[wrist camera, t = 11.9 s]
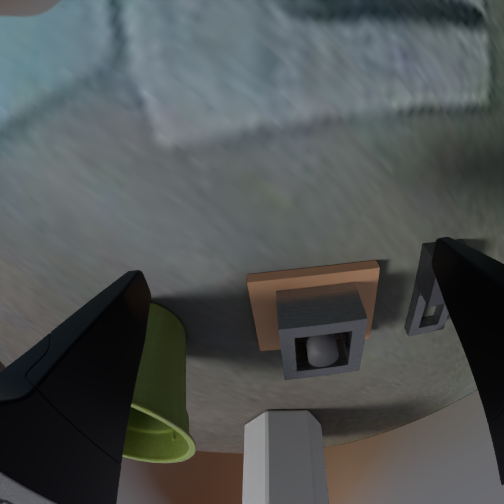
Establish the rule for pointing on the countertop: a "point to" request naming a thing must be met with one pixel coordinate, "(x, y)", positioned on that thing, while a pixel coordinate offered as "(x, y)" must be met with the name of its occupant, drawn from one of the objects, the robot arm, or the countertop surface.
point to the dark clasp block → (426, 297)
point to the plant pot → (160, 395)
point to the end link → (320, 327)
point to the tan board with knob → (266, 285)
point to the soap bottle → (284, 459)
